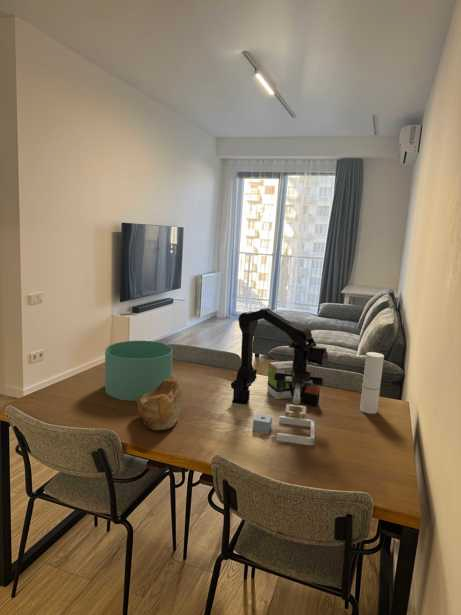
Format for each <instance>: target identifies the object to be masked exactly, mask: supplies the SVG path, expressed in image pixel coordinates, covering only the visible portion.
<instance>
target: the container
mask: <svg viewBox="0 0 461 615" xmlns="http://www.w3.org/2000/svg"><path fill="white" fill-rule="evenodd" d="M173 351H174V350H173V348H172V346H170V345H168V344H166V343H163V342H158V341H154V340H153V341H152V340H128V341H127V340H126V341H120V342H116V343H111V344H110V345H108V346H107V347H106V348H105V350H104V353H105V355H104V392H105V394H107V395H108V396H110V397H112V398H114V399H117V400H122V401H128V402H137V400H138V399H139V398H140V397H141V396H142V395H144V394H146V393H149V392H151V391H153V390H155V389H156V388H157V387H158V386H159V385H160V384H161V383H162V382H163V381H164V380H166V379H168V378H169V377H170V376H173Z"/></svg>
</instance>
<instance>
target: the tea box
mask: <svg viewBox="0 0 461 615" xmlns="http://www.w3.org/2000/svg"><path fill="white" fill-rule="evenodd" d="M292 363H293V360H285V361H283V360H282V361H281V360H280V361H272V362H271V361H269V362H268V373H267V387H266V388H267V393H268V394H269V395H271V396H272V397H273V399H275V400H282V399H291V398H292V399H293V397H292V396H291V391H290V388H289V385H288V384H287V383H285V378H284V380H283V381H279V380H274V377H275V371H276V370H277V369H278V370H285V373H290V374H291V372H292ZM302 386H303V385H302ZM293 390H294V384H293ZM301 390H302V388H301Z"/></svg>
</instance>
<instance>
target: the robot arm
mask: <svg viewBox="0 0 461 615" xmlns="http://www.w3.org/2000/svg"><path fill="white" fill-rule="evenodd" d="M259 320H260V321H261V320H265V322H266V321H267V322H268V323H269V324H271V325H272V326H274V327H276V328H278V329H279V330H280V331H282V332H284V333H285V334H287V336H288V337H289V339H290V340H291V341H292V343H291V344H289V345H288V348H291V349H293V354H292V361H293V363H292V372H291V374H290V373H285V370H278V369H277V370H276V371H275V377H274V380H279V381H283V380H284V378H285V383H287V384H288V385H289V388H290V391H291V396H292V397H293V384H301V385H303V386H302V390H301V397H300V399H302V396H303V394H304V392H305V390H306V388H307V387H308V386H311V383H313V384H314V385H320V386H323V382H324V377H323V374H320V373H314V372H313V373H312V372H311V371H308V362H309V363H310V364H312V365H313V364H314V365H317V366H320V367H321V366H323V367H325V366H326V365H327V363H328V360H329V354H328V351H327V347H321V346H317V343H316V341H315V340H314V338H313V335H312V331H311V330H310V328H308V327H305V326H302V325H298V324H295V323H293V322H291V321H289V320H288V319H286V318H285V317H283V316H281V315H279V314H278V313H276V312H275V311H272V310H271V309H270V308H269V307H265V308H261V309H259V310H256V311H254V310H250V311H246V312H242V313H240V314H239V316H238V327H239V329H240V331H241V350H240V351H241V353H240V366H239V368H238V370H237V374H236V378H235V380H234V381H232V382H231V383H230V388H231V389H233V392H232V394H233V395H232V400H231V402H232V403H236V404H244V405H247V404H248V402H249V401H250V393H251V390H250V387H251V386H252V384H253V383H254V382H255V381H256V379H257V378H258V377H257V373H258V372H257V370H258V369H256V368H254V366H253V355H254V353H253V351H254V334H255V330H256V329H257V327H258V322H259ZM311 374H312V375H311Z"/></svg>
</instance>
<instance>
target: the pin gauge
mask: <svg viewBox="0 0 461 615" xmlns="http://www.w3.org/2000/svg"><path fill="white" fill-rule="evenodd" d="M301 388H302V385H301V384H294V390H293V398H292V403H293V405H299V404H301V398H300V397H301Z"/></svg>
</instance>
